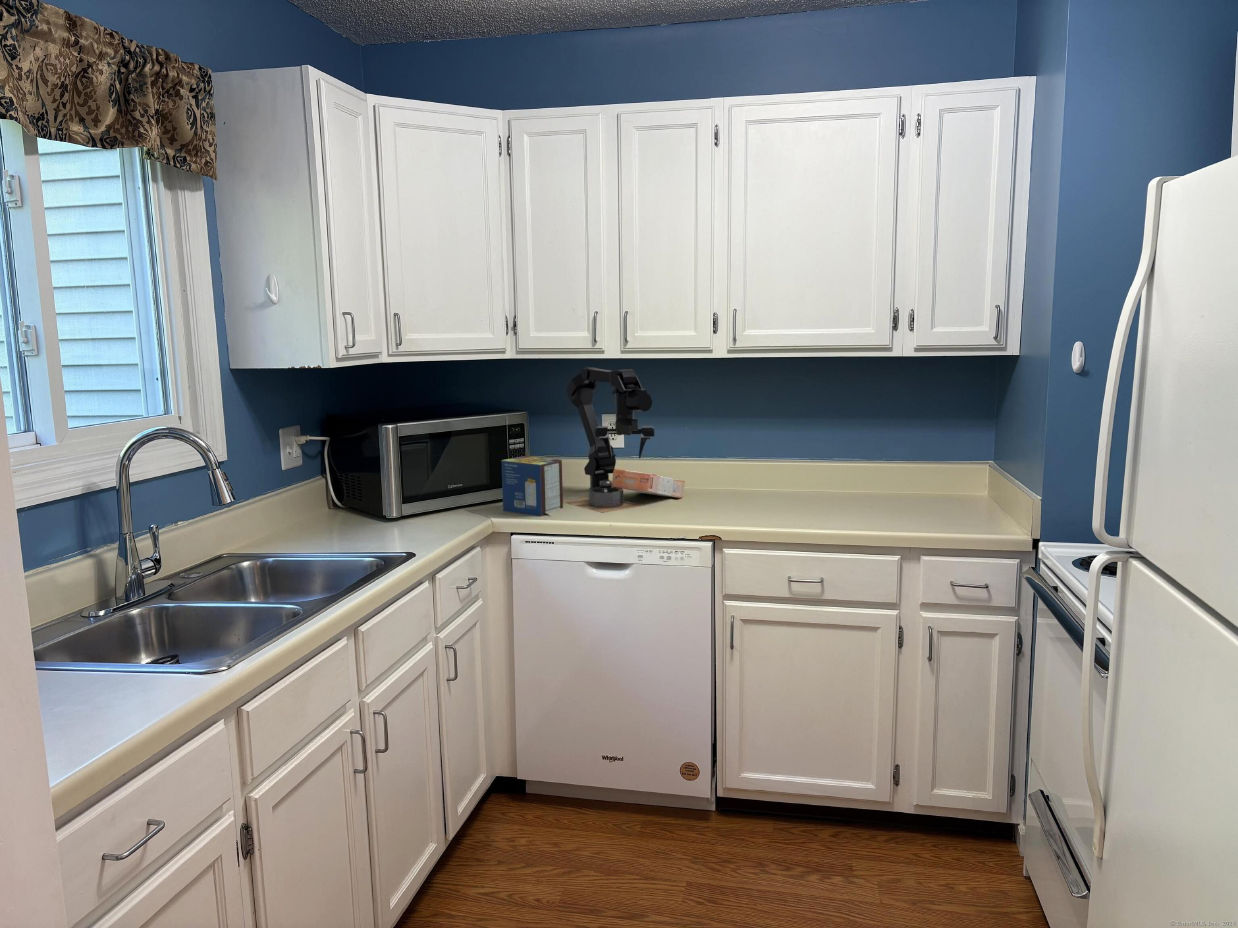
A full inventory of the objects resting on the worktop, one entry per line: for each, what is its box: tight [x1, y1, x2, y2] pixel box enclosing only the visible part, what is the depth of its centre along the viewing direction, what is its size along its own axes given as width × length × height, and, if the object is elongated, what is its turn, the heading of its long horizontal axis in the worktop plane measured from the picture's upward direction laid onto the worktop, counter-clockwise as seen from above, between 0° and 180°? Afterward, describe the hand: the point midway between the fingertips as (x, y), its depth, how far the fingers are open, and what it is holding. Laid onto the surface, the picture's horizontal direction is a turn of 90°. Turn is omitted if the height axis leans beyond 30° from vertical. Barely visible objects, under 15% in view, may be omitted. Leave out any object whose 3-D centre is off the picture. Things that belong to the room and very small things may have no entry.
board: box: [563, 496, 645, 514], centre depth 264 cm, size 22×16×1 cm
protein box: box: [500, 455, 564, 517], centre depth 257 cm, size 10×15×16 cm
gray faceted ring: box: [587, 487, 624, 508], centre depth 263 cm, size 13×10×4 cm
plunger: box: [600, 479, 612, 492], centre depth 262 cm, size 7×7×7 cm
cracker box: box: [611, 468, 686, 499], centre depth 271 cm, size 14×6×21 cm
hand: (625, 458), depth 274 cm, fingers open, 9 cm apart
